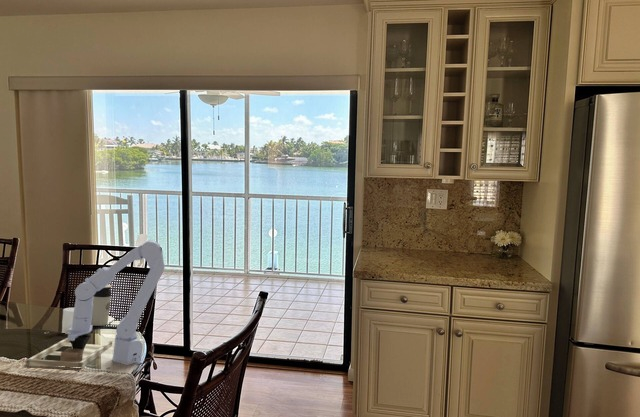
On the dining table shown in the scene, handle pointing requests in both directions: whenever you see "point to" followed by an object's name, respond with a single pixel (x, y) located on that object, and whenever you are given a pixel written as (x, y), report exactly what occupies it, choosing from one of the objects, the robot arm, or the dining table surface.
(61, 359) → the block
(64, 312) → the white cup
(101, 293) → the travel mug
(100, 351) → the white compartment tray
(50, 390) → the dining table surface
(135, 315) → the robot arm
